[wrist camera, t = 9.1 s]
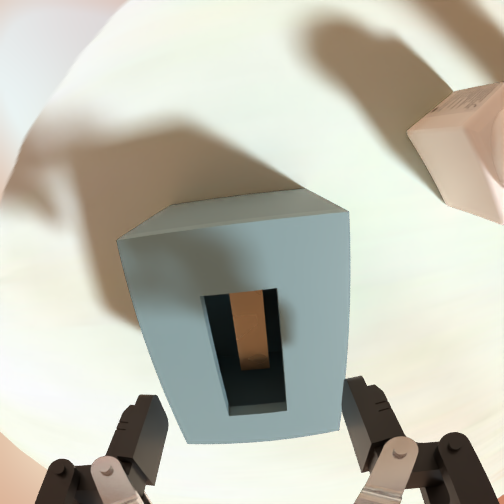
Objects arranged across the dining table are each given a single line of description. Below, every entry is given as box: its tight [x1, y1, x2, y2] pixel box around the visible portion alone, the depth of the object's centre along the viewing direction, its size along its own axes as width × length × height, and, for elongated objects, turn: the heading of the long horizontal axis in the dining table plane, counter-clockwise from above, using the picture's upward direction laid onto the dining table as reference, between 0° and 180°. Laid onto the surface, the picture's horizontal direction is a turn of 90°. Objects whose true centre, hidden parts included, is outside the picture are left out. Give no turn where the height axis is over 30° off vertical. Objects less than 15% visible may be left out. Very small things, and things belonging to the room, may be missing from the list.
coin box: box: [116, 188, 350, 444], centre depth 19 cm, size 10×14×10 cm
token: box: [229, 290, 270, 371], centre depth 20 cm, size 2×6×6 cm, turn 5°
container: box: [407, 82, 504, 225], centre depth 14 cm, size 8×8×13 cm
